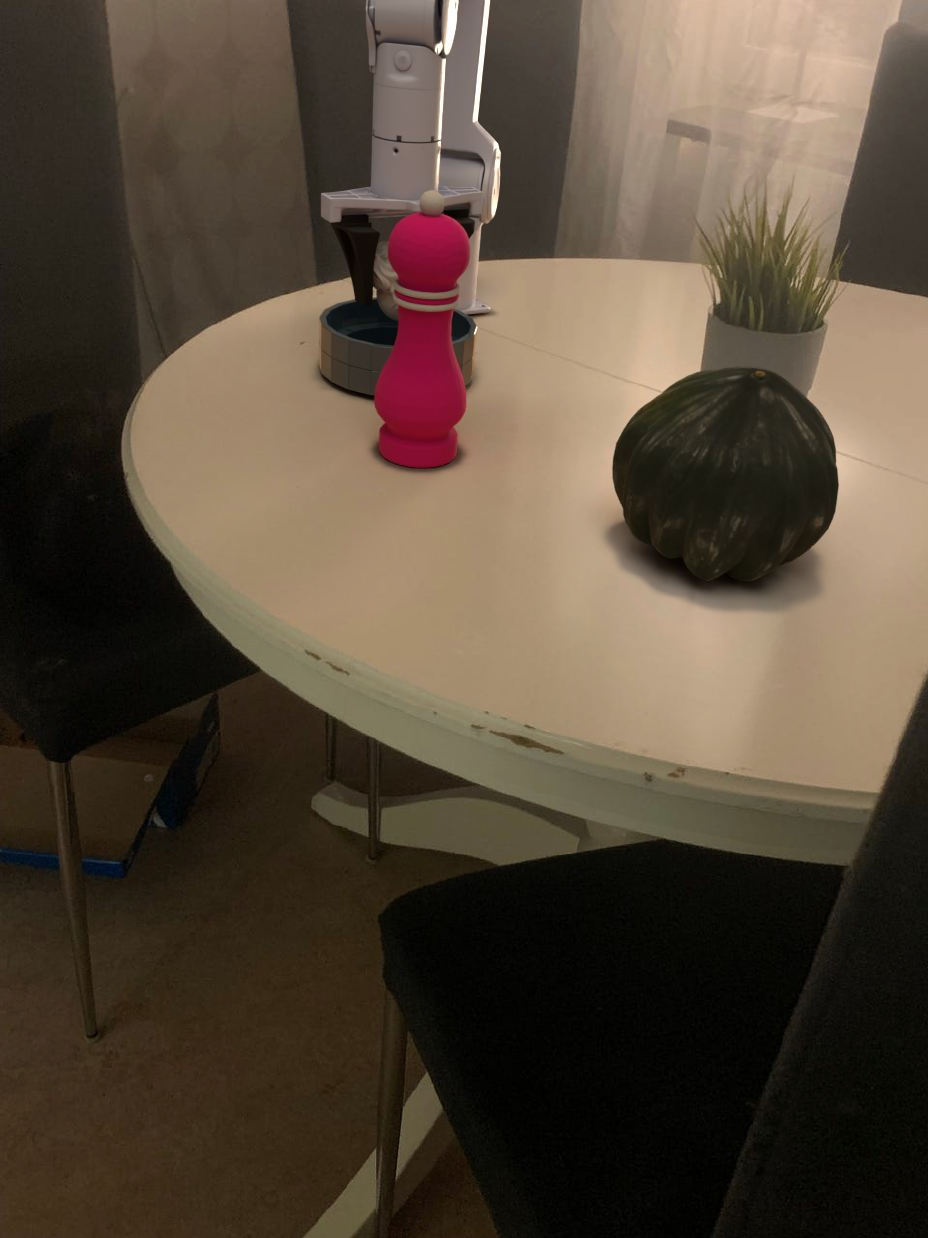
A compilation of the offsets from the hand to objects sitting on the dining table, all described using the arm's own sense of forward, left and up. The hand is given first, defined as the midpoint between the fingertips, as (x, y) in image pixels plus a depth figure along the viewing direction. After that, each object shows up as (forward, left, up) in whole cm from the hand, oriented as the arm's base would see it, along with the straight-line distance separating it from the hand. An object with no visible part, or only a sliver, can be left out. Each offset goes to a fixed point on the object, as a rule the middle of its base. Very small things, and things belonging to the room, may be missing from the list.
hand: (399, 299), depth 97 cm
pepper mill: (+16, -6, -7) cm, 19 cm away
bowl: (0, 0, -7) cm, 7 cm away
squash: (+38, +6, -7) cm, 39 cm away
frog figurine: (0, 0, -2) cm, 2 cm away
